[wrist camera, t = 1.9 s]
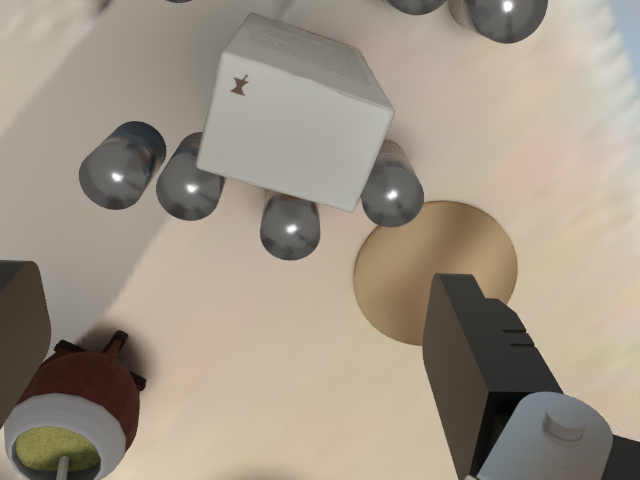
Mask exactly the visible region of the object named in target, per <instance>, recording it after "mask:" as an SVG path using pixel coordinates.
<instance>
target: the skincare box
mask: <svg viewBox="0 0 640 480" xmlns="http://www.w3.org/2000/svg"><path fill="white" fill-rule="evenodd" d="M394 114H395V110H394V109H393V107H392V105H391V104H390V102H389V100H388V99H387V97H386V95H385V94H384V92H383V90H382V88H381V87H380V85H379V83H378V82H377V80H376V78H375V76H374V75H373V73H372V71H371V70H370V68H369V66H368V64H367V63H366V61H365V59H364V57H363V56H362V54H361V52H360V51H359V50H358V49H355V48H352V47H349V46H346V45H344V44H341V43H338V42H335V41H332V40H329V39H327V38H324V37H321V36H318V35H315V34H312V33H310V32H307V31H304V30H301V29H298V28H295V27H293V26H290V25H287V24H284V23H281V22H278V21H275V20H272V19H270V18H267V17H264V16H261V15H258V14H255V13H250V14H249V15H248V17H247V18H246V20H245V21H244V23H243V24H242V25H241V26H240V28H239V29H238V31H237V32H236V33H235V35H234V36H233V38H232V39H231V41H230V42H229V44H228V45H227V46H226V47H225V49H224V50H223V51H222V52H221V54H220V60H219V64H218V68H217V73H216V78H215V82H214V86H213V90H212V95H211V99H210V104H209V108H208V113H207V117H206V121H205V126H204V130H203V134H202V139H201V143H200V148H199V152H198V156H197V161H196V166H197V168H198V169H201V170H204V171H208V172H211V173H214V174H218V175H221V176H224V177H228V178H231V179H235V180H238V181H242V182H245V183H249V184H252V185H256V186H259V187H263V188H266V189H270V190H273V191H277V192H281V193H284V194H288V195H292V196H295V197H299V198H302V199H306V200H310V201H313V202H316V203H320V204H323V205H327V206H330V207H334V208H337V209H341V210H344V211H347V212H349V213H352V212H354V210H355V208H356V205H357V203H358V201H359V198H360V196H361V194H362V191H363V189H364V186H365V184H366V182H367V179H368V177H369V174H370V172H371V170H372V167H373V165H374V162H375V160H376V158H377V155H378V153H379V151H380V148H381V146H382V143H383V141H384V138H385V136H386V133H387V131H388V128H389V126H390V124H391V121H392V119H393V116H394Z"/></svg>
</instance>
